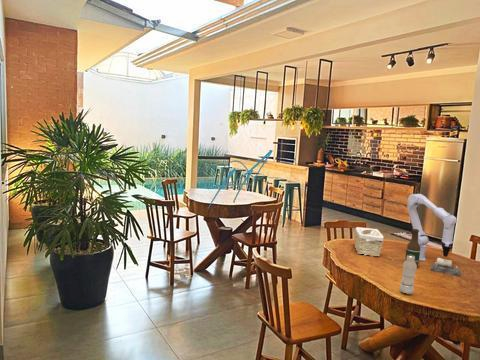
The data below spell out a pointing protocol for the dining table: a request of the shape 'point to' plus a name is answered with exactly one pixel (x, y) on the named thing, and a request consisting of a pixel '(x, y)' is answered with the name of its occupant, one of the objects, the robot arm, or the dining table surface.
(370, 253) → the storage basket
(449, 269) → the roll cradle
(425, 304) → the dining table surface
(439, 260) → the paper roll
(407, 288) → the plastic bottle
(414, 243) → the beer bottle
